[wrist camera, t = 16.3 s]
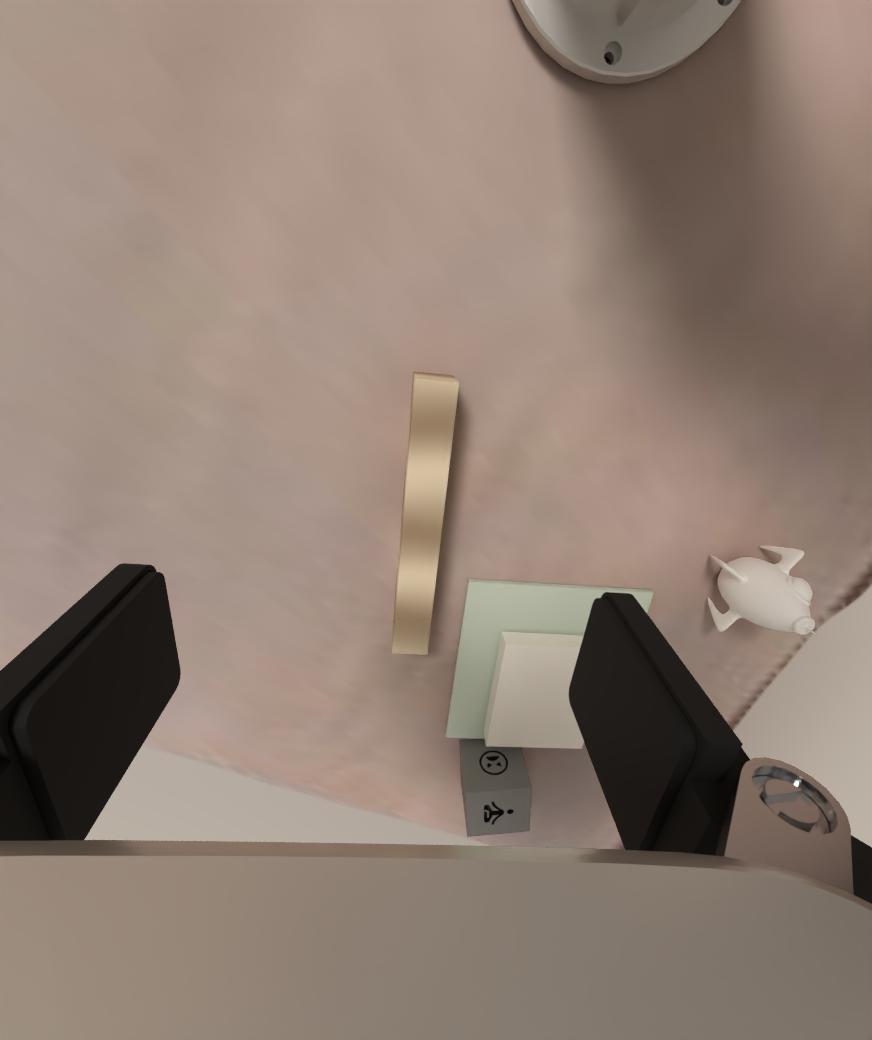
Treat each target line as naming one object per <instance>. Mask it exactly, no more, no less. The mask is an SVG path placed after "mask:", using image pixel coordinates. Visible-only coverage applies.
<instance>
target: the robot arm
mask: <svg viewBox="0 0 872 1040" xmlns="http://www.w3.org/2000/svg"><path fill="white" fill-rule="evenodd" d="M512 1H513V3H514V5H515V7H516V9H517V11H518V13H519V15H520V17H521V19H522V21H523V23H524V25H525V27H526V29H527V30H528V31H529V32H530V34H531V35H532V36H533V38H534V39H535V40H536V42H537V43H538V44H539V45H540V47H541V48H542V49H543V51H544V52H546V53H547V54H548V55H549V56H550V57H551V58H553V59H554V60H555V61H556V62H557V63H558V64H560V65H561V66H562V67H563V68H565V69H567V70H569V71H571V72H573V73H575V74H577V75H579V76H581V77H583V78H584V79H588V80H593V81H597V82H601V83H606V84H627V83H634V82H638V81H642V80H646V79H649V78H653V77H656V76H658V75H660V74H662V73H663V72H665V71H667V70H669V69H671V68H673V67H675V66H677V65H679V64H680V63H681V62H682V61H684V60H685V59H686V58H687V57H689V56H690V55H691V54H692V53H694V52H695V51H696V50H698V49H699V48H700V47H701V46H702V45H703V44H704V43H705V42H706V41H707V40H708V39H709V38H710V37H711V36H712V35H713V34H714V33H715V32H716V31H717V30H718V29H719V28H720V27H721V26H722V25H723V24H724V22H725V21H726V20H727V19H728V17H729V16H730V15H731V14H732V12H733V11H734V10H735V9H736V7H737V6H738V4H739V3H740V1H741V0H512ZM604 57H608V58H609V60H610V65H609V64H608V63H606V61H605V59H604ZM179 680H180V665H179V659H178V653H177V648H176V642H175V636H174V630H173V624H172V618H171V613H170V607H169V601H168V595H167V589H166V583H165V578H164V576H163V574H162V573H160V572H156V569H155V568H154V566H152V565H141V564H120V565H118V566H117V567H115V568H114V569H113V570H112V571H111V572H110V573H109V574H108V575H107V576H105V577H104V578H103V579H102V580H101V581H100V582H99V583H98V584H97V585H95V586H94V587H93V588H92V589H91V590H90V591H89V592H88V593H87V594H85V595H84V596H83V597H82V598H81V599H80V600H79V601H78V602H77V603H75V604H74V605H73V606H72V607H71V608H70V609H69V610H68V611H67V612H65V613H64V614H63V615H62V616H61V617H60V618H59V619H58V620H57V621H55V622H54V623H53V624H52V625H51V626H50V627H49V628H48V629H46V630H45V631H44V632H43V633H42V634H41V635H40V636H39V637H38V638H36V639H35V640H34V641H33V642H32V643H31V644H30V645H29V646H28V647H26V648H25V649H24V650H23V651H22V652H21V653H20V654H19V655H18V656H16V657H15V658H14V659H13V660H12V661H11V662H10V663H9V664H8V665H6V666H5V667H4V668H3V669H2V670H1V671H0V1040H872V848H871V847H870V846H868V845H866V844H865V843H863V842H861V841H860V840H858V839H857V838H855V837H853V836H851V830H850V825H849V822H848V818H847V816H846V814H845V812H844V810H843V808H842V807H841V805H840V804H839V802H838V801H837V800H836V799H835V798H834V797H833V796H832V794H831V793H830V792H829V791H828V790H827V789H826V788H825V787H824V786H822V785H821V784H820V783H819V782H817V781H816V780H815V779H814V778H812V777H811V776H809V775H808V774H806V773H804V772H803V771H801V770H799V769H798V768H796V767H794V766H792V765H789V764H787V763H784V762H782V761H779V760H774V759H770V758H753V759H752V760H750V759H749V758H748V756H747V755H746V753H745V752H744V751H743V749H742V748H741V746H742V743H741V742H740V740H739V739H738V737H737V736H736V735H735V733H734V732H733V730H732V729H731V728H730V726H729V725H728V724H727V722H726V721H725V720H724V718H723V717H722V715H721V714H720V713H719V711H718V710H717V709H716V707H715V706H714V705H713V703H712V702H711V700H710V699H709V698H708V696H707V695H706V694H705V692H704V691H703V690H702V688H701V687H700V685H699V684H698V683H697V681H696V680H695V679H694V677H693V676H692V675H691V673H690V672H689V670H688V669H687V668H686V666H685V665H684V664H683V662H682V661H681V660H680V658H679V657H678V655H677V654H676V653H675V651H674V650H673V649H672V647H671V646H670V645H669V643H668V642H667V640H666V639H665V638H664V636H663V635H662V634H661V632H660V631H659V630H658V628H657V627H656V625H655V624H654V623H653V621H652V620H651V619H650V617H649V616H648V615H647V613H646V612H645V610H644V609H643V608H642V606H641V605H640V604H639V602H638V601H637V600H636V598H635V597H634V596H633V595H632V594H629V593H614V592H605V593H603V595H602V596H601V598H596V599H595V600H594V602H593V604H592V608H591V611H590V615H589V618H588V622H587V626H586V629H585V633H584V636H583V640H582V643H581V647H580V650H579V654H578V658H577V661H576V665H575V668H574V672H573V675H572V679H571V683H570V686H569V702H570V706H571V708H572V711H573V713H574V716H575V719H576V721H577V724H578V727H579V729H580V732H581V735H582V737H583V740H584V742H585V745H586V748H587V750H588V753H589V756H590V758H591V761H592V763H593V766H594V769H595V771H596V774H597V777H598V779H599V782H600V784H601V787H602V790H603V792H604V795H605V798H606V800H607V803H608V805H609V808H610V811H611V813H612V816H613V819H614V821H615V824H616V827H617V829H618V832H619V834H620V837H621V840H622V842H623V845H624V847H625V850H614V849H590V848H548V847H505V846H461V845H407V844H406V845H405V844H354V843H351V844H350V843H293V842H291V843H289V842H287V843H286V842H218V841H131V840H129V841H128V840H126V841H125V840H124V841H123V840H84V839H85V838H86V836H87V834H88V833H89V831H90V829H91V828H92V826H93V824H94V823H95V821H96V819H97V818H98V816H99V815H100V813H101V811H102V810H103V808H104V806H105V805H106V803H107V802H108V800H109V798H110V797H111V795H112V793H113V792H114V790H115V788H116V787H117V785H118V783H119V782H120V780H121V779H122V777H123V775H124V774H125V772H126V770H127V769H128V767H129V765H130V764H131V762H132V761H133V759H134V757H135V756H136V754H137V752H138V751H139V749H140V748H141V746H142V744H143V743H144V741H145V739H146V738H147V736H148V734H149V733H150V731H151V730H152V728H153V726H154V725H155V723H156V721H157V720H158V718H159V717H160V715H161V713H162V712H163V710H164V708H165V707H166V705H167V703H168V702H169V700H170V699H171V697H172V695H173V694H174V692H175V690H176V688H177V686H178V684H179Z"/></svg>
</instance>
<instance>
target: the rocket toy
mask: <svg viewBox="0 0 872 1040" xmlns="http://www.w3.org/2000/svg"><path fill="white" fill-rule="evenodd" d="M760 547H761V548H764V549H766V550H770V551H772V552H775V553H778V554H779V555H781V556H782V559H781V561H780V562H779V563H777V564H771V563H769V562H767V561H764V560H761V559H758V558H752V557H742V558H738V559H735V560H733V561H730V562H728V563H727V564H726V563H724V562H723V561H721V560H720V559H718V558H716V557H714V556H712V555H710V556H711V558H712V559H713V560H714V561H715V562H716V563H717V564H719V565H720V566H721V567H722V569H721V571H720V574H719V576H718V588H719V591H720V594H721V596H722V597H723V599H724V600H725V601H726V603H727V604H728V605H729V610H728V611H727V612H726V613H725V614H721V613H720V612H719V611H718V610H717V609H716V607H715V606H714V604H713V603H712V601H711V600H710V598H709V597H708V598H707V599H708V604H709V608H710V611H711V614H712V617H713V620H714V622H715V625H716V627H717V629H718V630H719V631H721V632H722V631H725V630H726V629H727V628H728V627H729V626H731V625H732V624H733V623H734V622H735V621H736V620H737V619H739V618H741V619H742V618H745V619H747V620H748V621H750V622H752V623H754V624H757V625H759V626H762V627H765V628H769V629H772V630H777V631H784V632H796V633H797V634H799V635H805V634H808V633H810V632H811V633H813V634H814V635H816V634H815V633H814V632H813V631H812V630H813V629H814V627H815V622H814V620H813V619H812V618H810V609H809V606H810V605H811V602H810V601H811V599H812V589H811V587H810V585H809V584H808V583H807V582H806V581H805V580H804V579H802V578H794V577H792V576H789V574H790V573H789V571H790V569H791V568H792V567H793V566H794V565H795V564H796V563H797V562H798V561H799V560H800V559H801V558H802V557H803V556H804V552H803V551H802V550H798V549H793V548H785V547H777V546H760Z"/></svg>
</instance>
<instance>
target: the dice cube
mask: <svg viewBox="0 0 872 1040" xmlns="http://www.w3.org/2000/svg"><path fill="white" fill-rule="evenodd" d="M459 742H460V770H461V787H462V795H463V803H464V811H465V819H466V828H467V836H468V837H469V836H480V835H491V834H502V833H513V832H524V831H529V829H530V808H531V784H530V780H529V776H528V773H527V769H526V765H525V762H524V758H523V754H522V751H521V747H494V746H486V744H485V739H468V740H459Z"/></svg>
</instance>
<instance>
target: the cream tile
mask: <svg viewBox="0 0 872 1040" xmlns="http://www.w3.org/2000/svg"><path fill="white" fill-rule="evenodd" d="M582 640H583V636H581V635H561V634H542V633H522V632H502V633H501V638H500V643H499V649H498V654H497V659H496V665H495V670H494V676H493V681H492V686H491V692H490V697H489V703H488V708H487V713H486V719H485V724H484V729H483V733H484V739H485V744H486V746H494V747H531V748H568V749H582V747H583V744H584V740H583V737H582V735H581V732H580V729H579V727H578V724H577V721H576V719H575V716H574V713H573V711H572V708H571V706H570V702H569V686H570V683H571V679H572V675H573V672H574V668H575V665H576V661H577V658H578V654H579V650H580V647H581V643H582Z"/></svg>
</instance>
